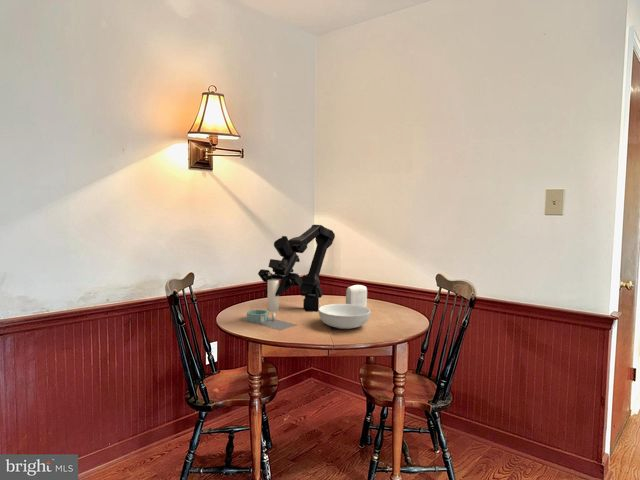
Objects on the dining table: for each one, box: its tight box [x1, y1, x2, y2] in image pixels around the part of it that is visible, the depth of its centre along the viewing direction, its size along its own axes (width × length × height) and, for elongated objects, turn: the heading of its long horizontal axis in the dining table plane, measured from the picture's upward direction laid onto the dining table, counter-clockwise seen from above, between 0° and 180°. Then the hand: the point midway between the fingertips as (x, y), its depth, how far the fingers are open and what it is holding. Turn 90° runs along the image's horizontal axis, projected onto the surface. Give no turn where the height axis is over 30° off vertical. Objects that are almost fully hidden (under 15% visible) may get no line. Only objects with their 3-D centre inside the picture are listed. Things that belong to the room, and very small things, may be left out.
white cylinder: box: [266, 279, 280, 313], centre depth 176 cm, size 4×4×12 cm
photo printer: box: [345, 284, 368, 308], centre depth 199 cm, size 10×4×12 cm, turn 123°
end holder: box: [246, 309, 269, 323], centre depth 182 cm, size 9×9×3 cm
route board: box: [239, 312, 297, 331], centre depth 179 cm, size 23×10×4 cm, turn 52°
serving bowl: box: [317, 303, 371, 330], centre depth 177 cm, size 21×21×7 cm
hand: (271, 294), depth 175 cm, fingers closed on white cylinder, 4 cm apart
